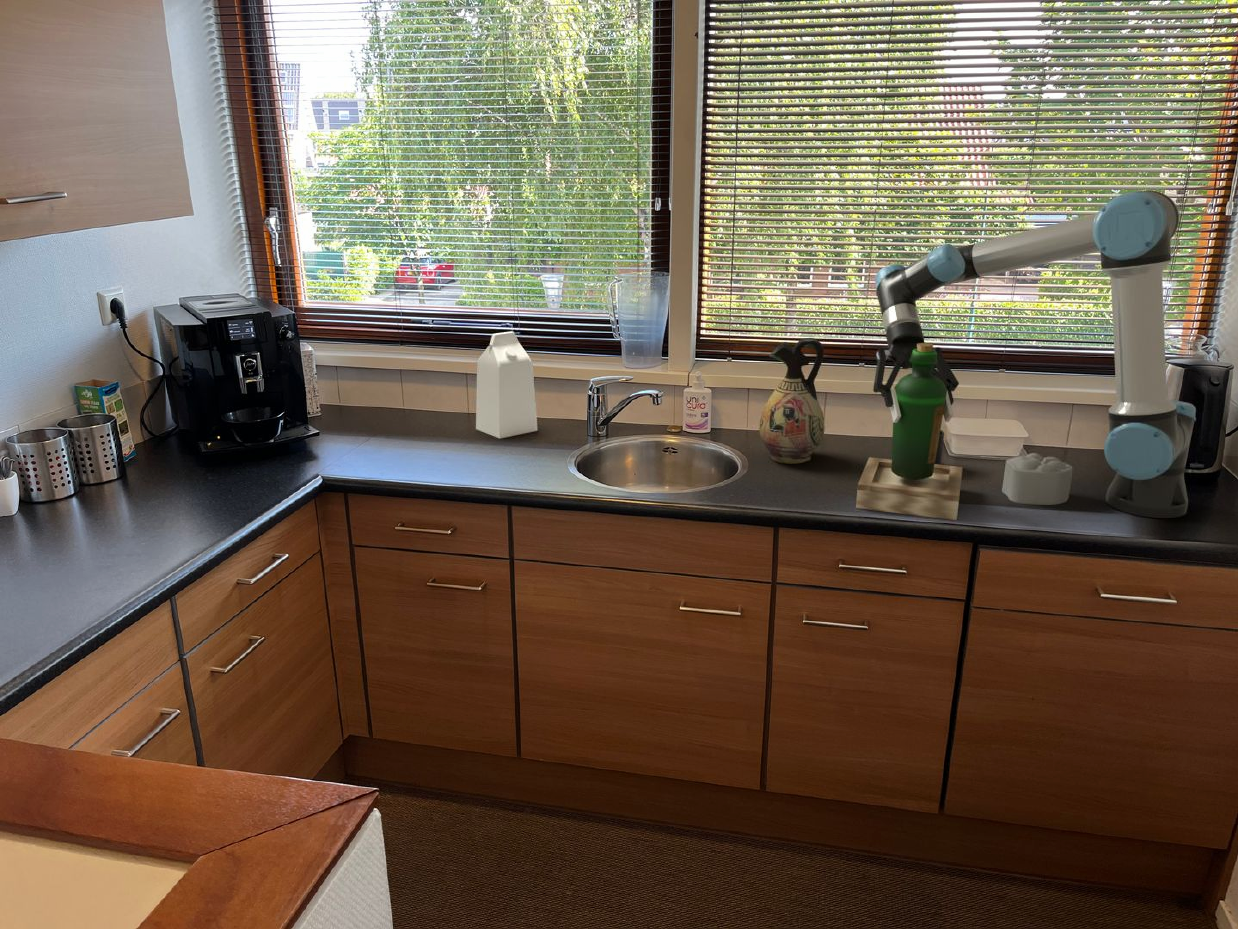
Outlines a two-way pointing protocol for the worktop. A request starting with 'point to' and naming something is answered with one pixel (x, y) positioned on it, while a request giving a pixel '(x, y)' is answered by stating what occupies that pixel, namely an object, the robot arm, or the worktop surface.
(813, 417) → the ceramic jug
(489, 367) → the milk
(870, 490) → the rectangular wooden box
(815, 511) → the worktop surface
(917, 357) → the bottle
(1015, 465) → the lumpy-topped squat cylinder
